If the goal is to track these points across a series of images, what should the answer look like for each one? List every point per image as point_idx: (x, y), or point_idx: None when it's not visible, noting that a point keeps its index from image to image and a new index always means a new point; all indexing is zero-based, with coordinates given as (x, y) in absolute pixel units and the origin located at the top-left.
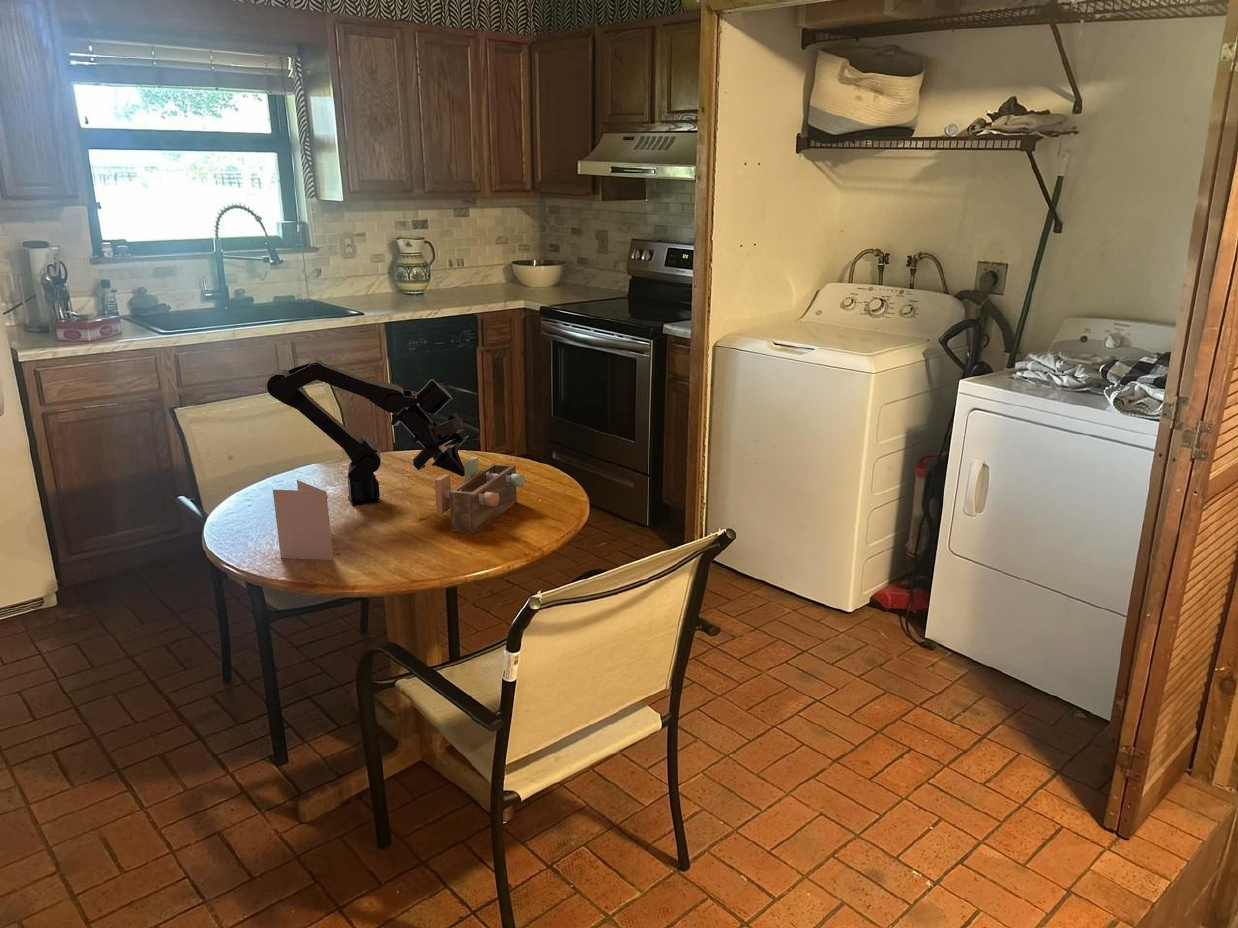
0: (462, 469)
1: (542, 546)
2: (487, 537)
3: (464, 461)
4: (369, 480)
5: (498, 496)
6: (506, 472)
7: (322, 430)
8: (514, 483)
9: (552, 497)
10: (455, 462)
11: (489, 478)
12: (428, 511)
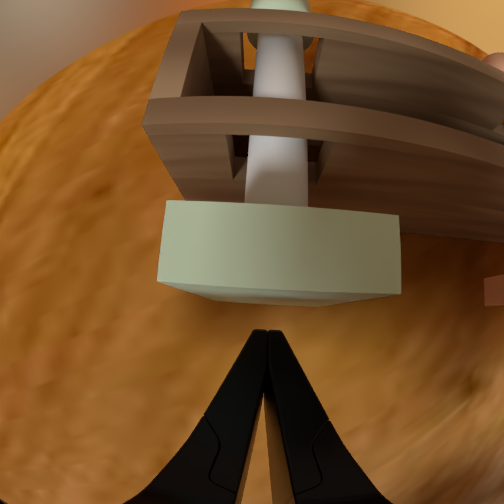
0: (280, 358)
1: (459, 39)
2: None
3: (389, 292)
4: None
5: (489, 58)
6: (310, 15)
7: None
8: None
9: (149, 60)
10: (327, 430)
11: None
12: (404, 417)
